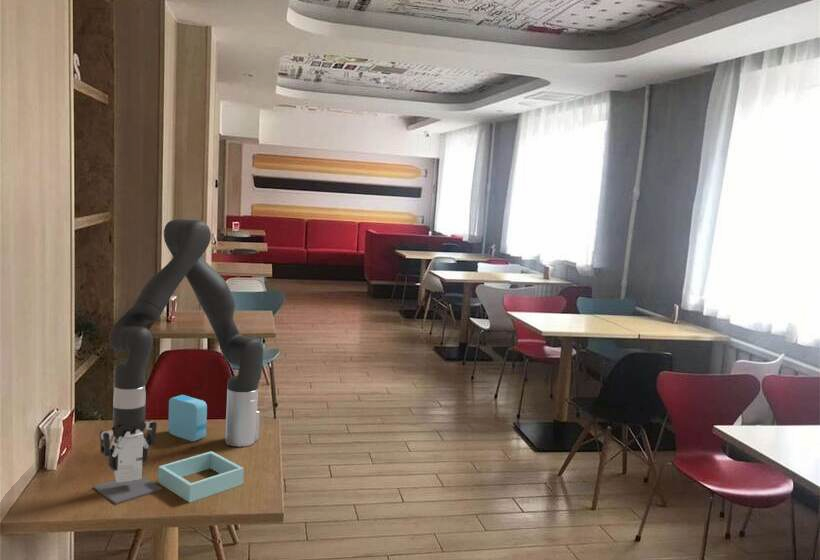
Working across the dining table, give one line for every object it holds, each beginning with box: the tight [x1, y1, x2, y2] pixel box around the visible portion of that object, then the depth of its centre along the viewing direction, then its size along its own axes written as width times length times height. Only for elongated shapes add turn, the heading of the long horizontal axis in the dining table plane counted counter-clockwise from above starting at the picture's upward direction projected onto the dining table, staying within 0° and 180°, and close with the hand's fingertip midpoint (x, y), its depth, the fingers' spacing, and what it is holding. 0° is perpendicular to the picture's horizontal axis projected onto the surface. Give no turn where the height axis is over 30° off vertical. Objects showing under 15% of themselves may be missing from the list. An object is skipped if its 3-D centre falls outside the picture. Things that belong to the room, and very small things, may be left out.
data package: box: [167, 394, 208, 442], centre depth 206 cm, size 12×4×12 cm, turn 61°
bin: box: [157, 450, 245, 503], centre depth 175 cm, size 16×15×4 cm
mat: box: [92, 475, 163, 505], centre depth 169 cm, size 12×12×1 cm
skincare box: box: [113, 432, 144, 483], centre depth 168 cm, size 6×4×12 cm
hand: (128, 465), depth 169 cm, fingers closed on skincare box, 7 cm apart
